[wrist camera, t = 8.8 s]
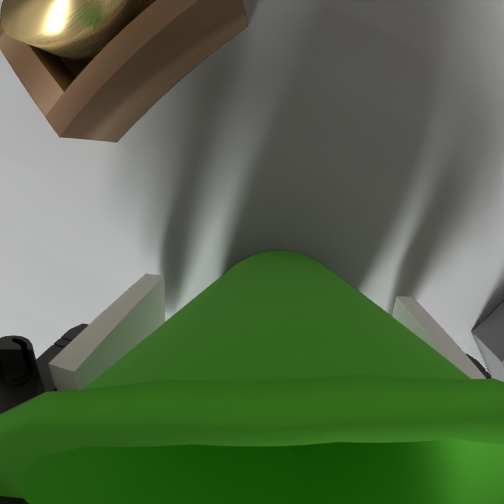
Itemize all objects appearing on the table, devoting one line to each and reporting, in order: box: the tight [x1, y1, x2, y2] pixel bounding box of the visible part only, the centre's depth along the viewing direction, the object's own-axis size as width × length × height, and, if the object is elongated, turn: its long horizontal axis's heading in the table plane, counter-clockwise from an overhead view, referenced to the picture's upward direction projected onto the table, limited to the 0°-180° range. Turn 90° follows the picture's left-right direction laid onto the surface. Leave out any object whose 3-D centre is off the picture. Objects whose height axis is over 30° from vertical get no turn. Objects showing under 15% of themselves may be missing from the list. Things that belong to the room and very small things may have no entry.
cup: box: [0, 250, 504, 504], centre depth 8 cm, size 9×9×11 cm
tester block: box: [0, 0, 248, 142], centre depth 9 cm, size 7×7×4 cm
